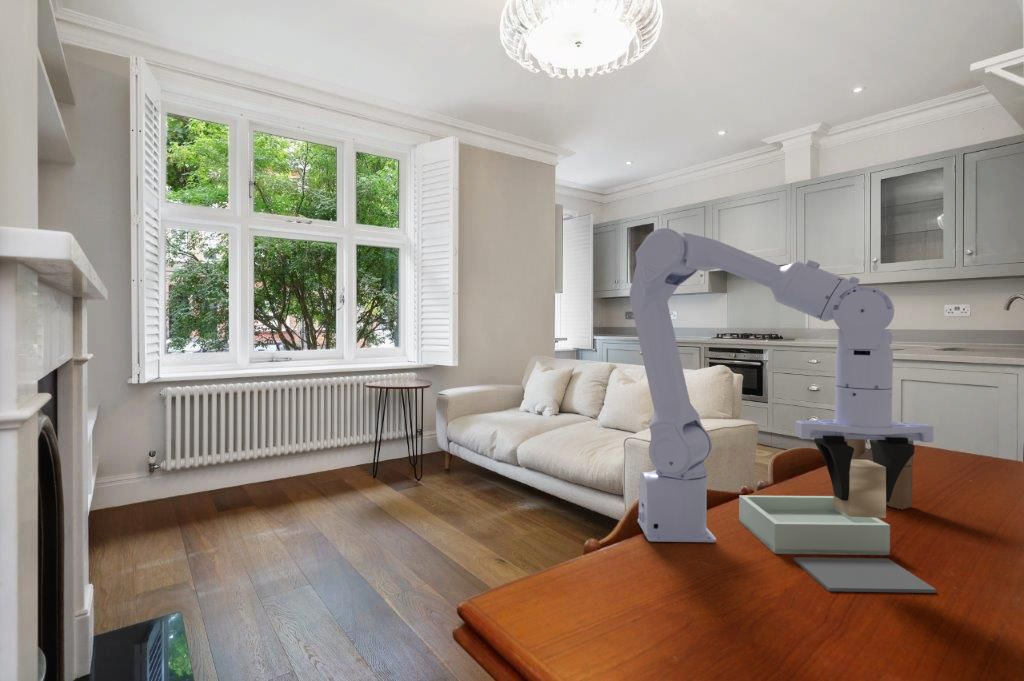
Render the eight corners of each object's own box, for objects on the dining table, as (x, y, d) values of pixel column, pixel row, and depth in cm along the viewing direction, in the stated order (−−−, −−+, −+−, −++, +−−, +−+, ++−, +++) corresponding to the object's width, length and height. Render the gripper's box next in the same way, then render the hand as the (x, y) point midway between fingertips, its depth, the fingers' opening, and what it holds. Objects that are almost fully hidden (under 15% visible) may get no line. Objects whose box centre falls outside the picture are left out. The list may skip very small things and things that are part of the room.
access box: (774, 553, 70) (775, 523, 70) (738, 520, 82) (739, 495, 82) (889, 555, 70) (890, 525, 70) (836, 521, 82) (837, 496, 82)
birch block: (849, 516, 63) (849, 466, 63) (833, 506, 67) (833, 458, 67) (886, 518, 62) (885, 467, 62) (867, 507, 66) (867, 459, 66)
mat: (828, 591, 60) (828, 587, 60) (793, 560, 68) (793, 557, 68) (936, 592, 60) (936, 589, 60) (888, 561, 68) (888, 558, 68)
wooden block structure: (901, 510, 87) (903, 401, 86) (835, 492, 96) (837, 394, 96) (913, 507, 89) (915, 400, 88) (847, 489, 98) (849, 393, 98)
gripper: (908, 384, 67) (906, 490, 67) (786, 382, 69) (785, 486, 69) (946, 390, 60) (944, 510, 60) (809, 389, 62) (808, 504, 62)
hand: (861, 498), depth 64 cm, fingers closed on birch block, 4 cm apart
